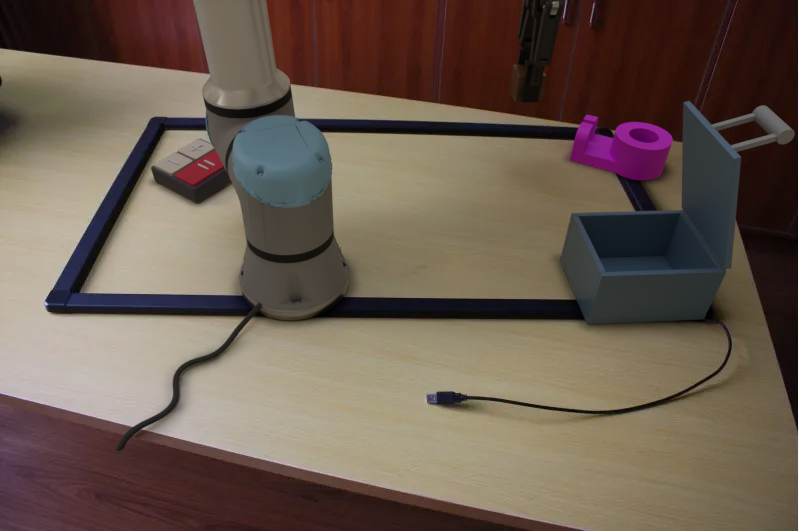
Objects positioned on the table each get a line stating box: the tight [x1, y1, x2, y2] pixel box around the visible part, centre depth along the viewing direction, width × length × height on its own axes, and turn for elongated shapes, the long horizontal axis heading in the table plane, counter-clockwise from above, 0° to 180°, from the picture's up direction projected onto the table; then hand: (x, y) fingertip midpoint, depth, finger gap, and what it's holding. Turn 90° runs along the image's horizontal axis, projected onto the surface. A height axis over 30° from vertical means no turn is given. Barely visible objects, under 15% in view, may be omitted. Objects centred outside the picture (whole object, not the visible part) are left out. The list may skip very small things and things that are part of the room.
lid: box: [681, 100, 795, 270], centre depth 81 cm, size 17×14×9 cm
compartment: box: [559, 209, 727, 325], centre depth 90 cm, size 17×14×9 cm
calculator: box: [150, 133, 232, 204], centre depth 111 cm, size 11×4×15 cm
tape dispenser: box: [569, 114, 674, 181], centre depth 117 cm, size 16×10×6 cm, turn 63°
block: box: [508, 64, 548, 103], centre depth 105 cm, size 4×4×4 cm
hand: (525, 93), depth 106 cm, fingers closed on block, 4 cm apart
